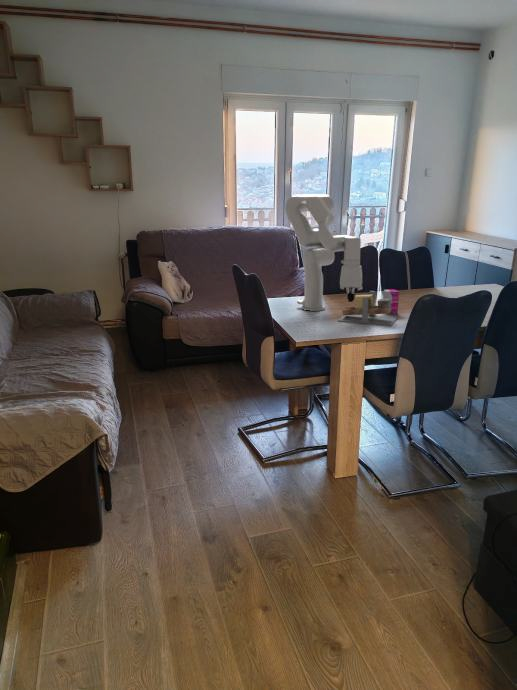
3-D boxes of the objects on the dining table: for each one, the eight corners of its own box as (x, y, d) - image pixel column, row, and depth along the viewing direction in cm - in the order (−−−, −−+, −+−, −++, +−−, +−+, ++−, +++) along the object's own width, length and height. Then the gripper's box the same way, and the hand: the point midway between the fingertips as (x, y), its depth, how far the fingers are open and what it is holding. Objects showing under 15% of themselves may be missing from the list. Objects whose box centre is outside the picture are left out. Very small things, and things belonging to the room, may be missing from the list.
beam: (342, 315, 248) (341, 299, 246) (346, 312, 254) (345, 297, 252) (388, 313, 239) (387, 297, 237) (391, 310, 244) (390, 294, 242)
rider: (355, 311, 246) (354, 296, 245) (357, 309, 250) (356, 295, 248) (372, 310, 243) (370, 295, 241) (373, 308, 246) (372, 294, 245)
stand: (337, 321, 245) (338, 295, 241) (347, 313, 260) (348, 289, 256) (390, 326, 235) (392, 299, 231) (397, 317, 250) (399, 292, 246)
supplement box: (387, 314, 256) (388, 291, 253) (381, 311, 262) (383, 289, 259) (398, 313, 258) (399, 291, 255) (392, 311, 263) (393, 289, 260)
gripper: (334, 263, 242) (333, 301, 248) (365, 264, 236) (364, 303, 242) (338, 261, 249) (337, 298, 254) (369, 262, 243) (367, 300, 248)
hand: (350, 301), depth 248 cm, fingers closed
